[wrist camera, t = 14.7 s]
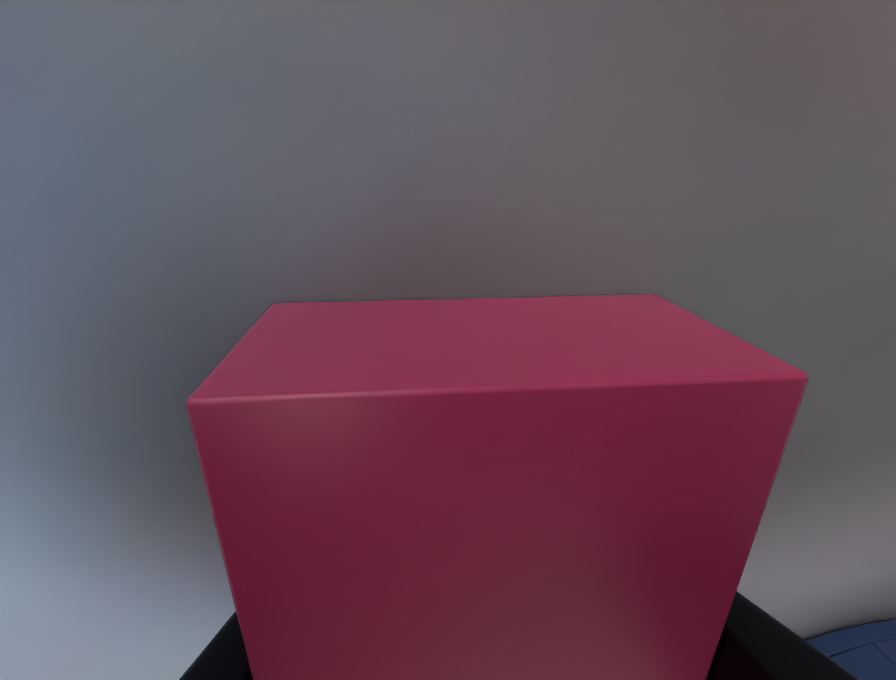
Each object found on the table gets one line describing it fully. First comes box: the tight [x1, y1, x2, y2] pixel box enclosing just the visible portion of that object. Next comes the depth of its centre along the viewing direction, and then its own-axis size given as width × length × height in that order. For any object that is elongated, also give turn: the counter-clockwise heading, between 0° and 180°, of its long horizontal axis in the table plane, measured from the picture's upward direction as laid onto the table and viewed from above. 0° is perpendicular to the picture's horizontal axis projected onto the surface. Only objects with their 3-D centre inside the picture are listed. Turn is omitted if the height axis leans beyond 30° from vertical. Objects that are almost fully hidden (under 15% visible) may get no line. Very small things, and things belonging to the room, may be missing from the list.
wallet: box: [186, 294, 808, 680], centre depth 8 cm, size 10×6×4 cm, turn 0°
